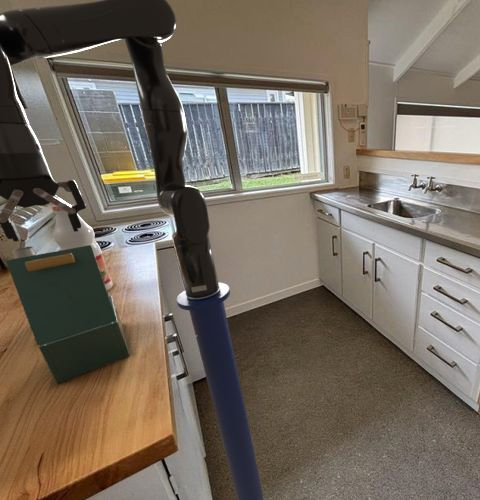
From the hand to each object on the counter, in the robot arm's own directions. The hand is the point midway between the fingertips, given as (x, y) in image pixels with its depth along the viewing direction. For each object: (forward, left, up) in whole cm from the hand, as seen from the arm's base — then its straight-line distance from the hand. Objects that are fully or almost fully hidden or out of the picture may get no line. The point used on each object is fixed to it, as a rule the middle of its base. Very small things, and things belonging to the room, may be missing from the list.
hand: (48, 235), depth 57 cm
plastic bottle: (-16, -18, -27) cm, 36 cm away
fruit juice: (-31, -16, -27) cm, 44 cm away
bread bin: (+3, +2, -27) cm, 27 cm away
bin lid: (+7, +4, -10) cm, 13 cm away
